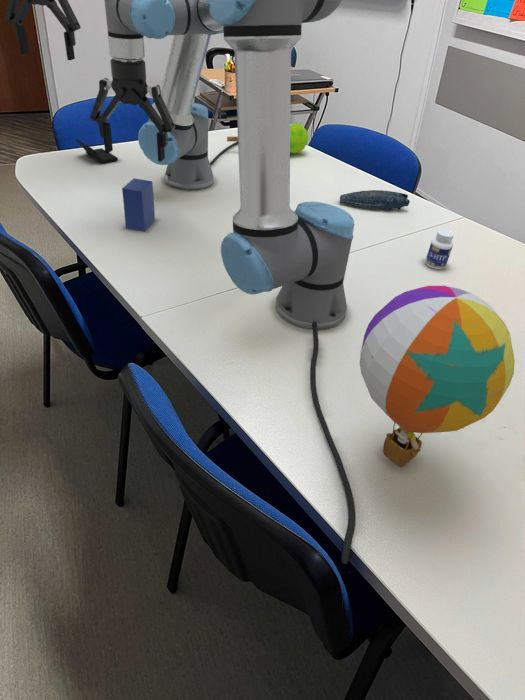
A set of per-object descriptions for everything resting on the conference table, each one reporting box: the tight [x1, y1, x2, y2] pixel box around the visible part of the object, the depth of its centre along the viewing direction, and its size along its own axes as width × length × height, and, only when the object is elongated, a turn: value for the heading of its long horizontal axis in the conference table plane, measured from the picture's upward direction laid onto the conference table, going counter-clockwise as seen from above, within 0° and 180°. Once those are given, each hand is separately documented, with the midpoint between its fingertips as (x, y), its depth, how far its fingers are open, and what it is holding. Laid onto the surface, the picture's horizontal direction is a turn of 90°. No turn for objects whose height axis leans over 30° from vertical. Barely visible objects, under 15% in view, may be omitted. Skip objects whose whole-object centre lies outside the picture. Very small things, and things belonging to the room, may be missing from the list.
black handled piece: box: [75, 138, 119, 164], centre depth 173 cm, size 12×7×10 cm
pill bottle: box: [424, 228, 455, 270], centre depth 130 cm, size 5×5×9 cm
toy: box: [359, 285, 516, 468], centre depth 73 cm, size 20×20×30 cm
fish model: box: [339, 189, 411, 211], centre depth 158 cm, size 7×21×5 cm, turn 84°
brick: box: [121, 177, 156, 233], centre depth 136 cm, size 5×7×11 cm
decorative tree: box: [226, 122, 309, 154], centre depth 188 cm, size 18×10×30 cm
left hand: (48, 56), depth 143 cm, fingers open, 13 cm apart
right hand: (135, 155), depth 128 cm, fingers open, 13 cm apart
